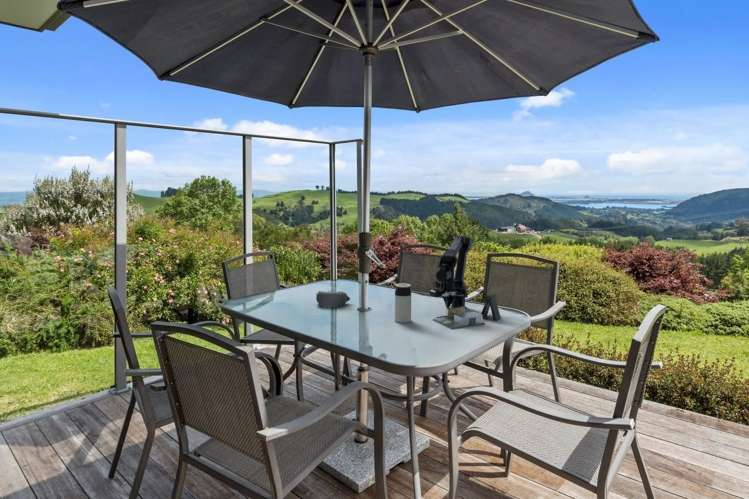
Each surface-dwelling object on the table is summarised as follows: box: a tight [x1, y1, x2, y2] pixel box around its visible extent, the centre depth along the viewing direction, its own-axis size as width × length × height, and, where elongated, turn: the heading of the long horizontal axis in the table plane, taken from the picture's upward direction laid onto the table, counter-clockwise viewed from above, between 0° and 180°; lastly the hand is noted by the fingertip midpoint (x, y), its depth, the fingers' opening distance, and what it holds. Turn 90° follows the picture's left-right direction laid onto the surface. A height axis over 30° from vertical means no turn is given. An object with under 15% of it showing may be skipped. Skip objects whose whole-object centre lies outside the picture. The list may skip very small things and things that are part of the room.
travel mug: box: [394, 282, 412, 324], centre depth 212 cm, size 8×8×18 cm
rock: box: [315, 290, 351, 308], centre depth 243 cm, size 18×11×8 cm, turn 86°
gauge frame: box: [432, 311, 486, 330], centre depth 211 cm, size 19×16×5 cm
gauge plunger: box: [435, 306, 466, 318], centre depth 213 cm, size 16×8×5 cm, turn 115°
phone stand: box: [480, 293, 502, 322], centre depth 217 cm, size 9×6×12 cm, turn 54°
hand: (447, 308), depth 223 cm, fingers closed
